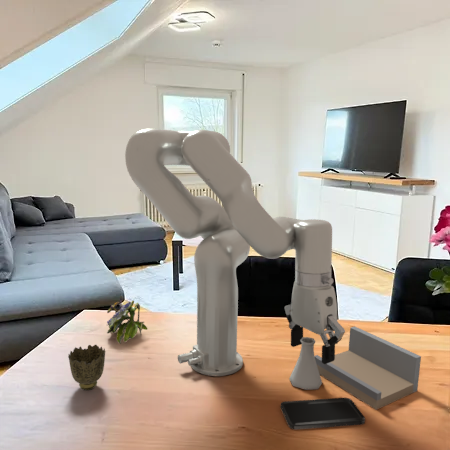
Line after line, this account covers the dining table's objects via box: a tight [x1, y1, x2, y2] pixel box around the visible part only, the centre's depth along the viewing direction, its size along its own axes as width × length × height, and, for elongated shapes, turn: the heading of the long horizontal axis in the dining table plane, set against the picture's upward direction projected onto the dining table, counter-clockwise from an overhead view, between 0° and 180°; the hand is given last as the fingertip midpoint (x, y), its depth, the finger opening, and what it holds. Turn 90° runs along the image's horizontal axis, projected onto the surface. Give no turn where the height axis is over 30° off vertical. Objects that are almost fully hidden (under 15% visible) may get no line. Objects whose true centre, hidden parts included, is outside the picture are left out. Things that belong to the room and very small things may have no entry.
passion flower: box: [106, 300, 148, 345], centre depth 116 cm, size 11×11×12 cm
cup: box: [68, 344, 106, 391], centre depth 90 cm, size 8×7×8 cm
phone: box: [280, 397, 366, 430], centre depth 83 cm, size 8×1×15 cm
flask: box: [288, 336, 323, 391], centre depth 93 cm, size 7×7×10 cm
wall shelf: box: [314, 325, 422, 410], centre depth 95 cm, size 14×18×8 cm
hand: (311, 353), depth 93 cm, fingers open, 9 cm apart
